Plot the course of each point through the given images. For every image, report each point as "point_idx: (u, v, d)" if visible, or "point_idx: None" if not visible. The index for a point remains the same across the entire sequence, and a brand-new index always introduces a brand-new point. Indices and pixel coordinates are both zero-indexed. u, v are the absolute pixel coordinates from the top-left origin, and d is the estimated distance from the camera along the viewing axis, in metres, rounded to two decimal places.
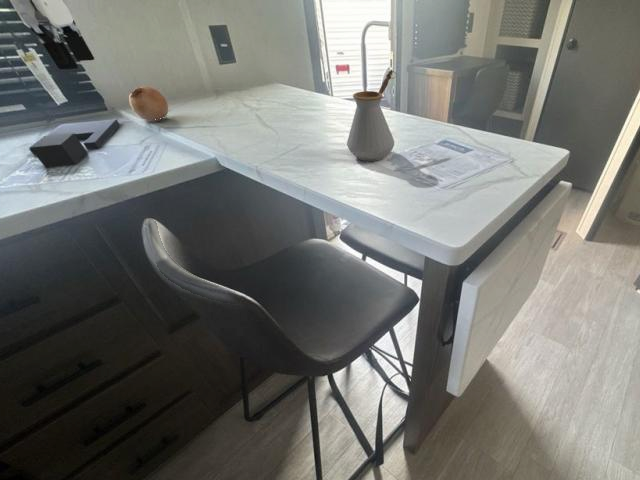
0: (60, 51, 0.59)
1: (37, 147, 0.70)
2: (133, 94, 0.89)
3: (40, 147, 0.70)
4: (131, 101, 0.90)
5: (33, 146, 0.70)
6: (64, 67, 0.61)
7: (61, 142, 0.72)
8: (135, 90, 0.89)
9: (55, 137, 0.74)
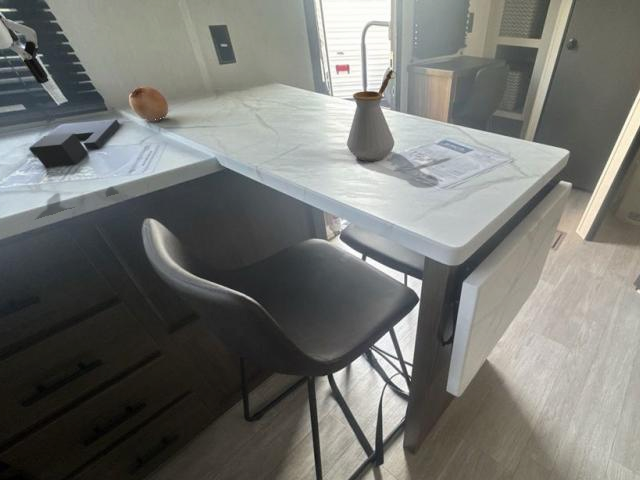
0: (40, 65, 0.65)
1: (37, 147, 0.70)
2: (133, 94, 0.89)
3: (40, 147, 0.70)
4: (131, 101, 0.90)
5: (33, 146, 0.70)
6: (44, 81, 0.66)
7: (61, 142, 0.72)
8: (135, 90, 0.89)
9: (55, 137, 0.74)
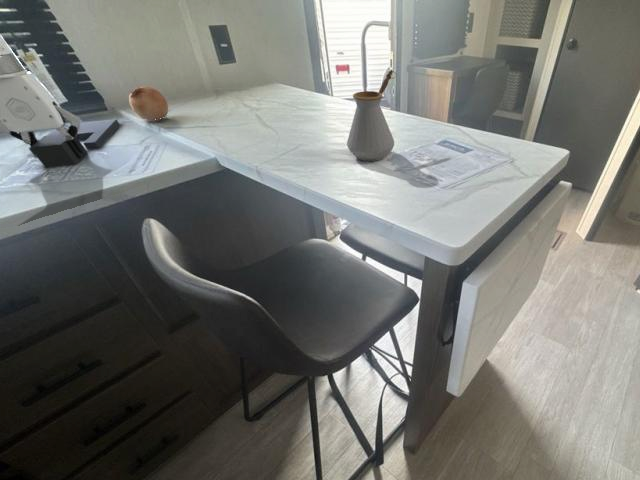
0: (79, 142, 0.75)
1: (37, 147, 0.70)
2: (133, 94, 0.89)
3: (40, 147, 0.70)
4: (131, 101, 0.90)
5: (33, 146, 0.70)
6: (82, 155, 0.76)
7: (61, 142, 0.72)
8: (135, 90, 0.89)
9: (55, 137, 0.74)
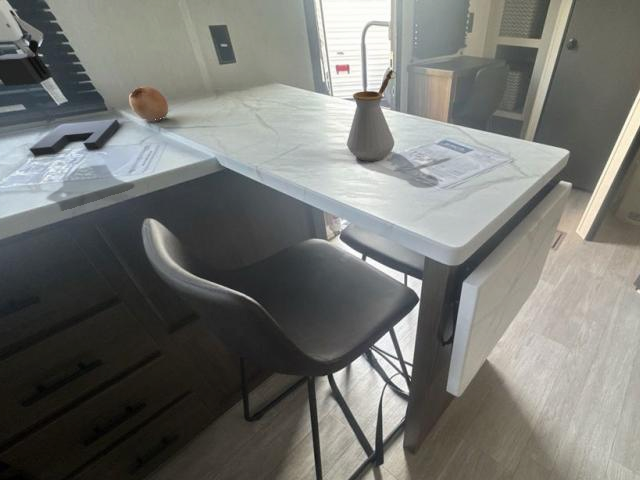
0: (42, 62, 0.71)
1: None
2: (133, 94, 0.89)
3: None
4: (131, 101, 0.90)
5: None
6: (45, 76, 0.72)
7: (21, 57, 0.67)
8: (135, 90, 0.89)
9: (16, 55, 0.70)
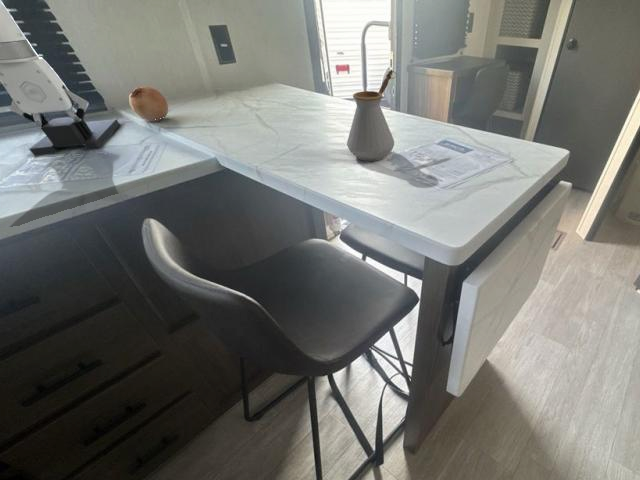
0: (86, 124, 0.81)
1: (48, 128, 0.76)
2: (133, 94, 0.89)
3: (50, 128, 0.76)
4: (131, 101, 0.90)
5: (44, 126, 0.76)
6: (88, 136, 0.82)
7: (70, 123, 0.78)
8: (135, 90, 0.89)
9: (64, 119, 0.80)
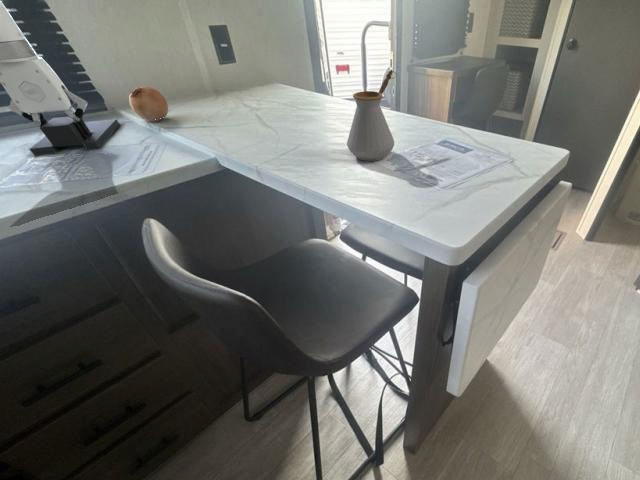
0: (85, 124, 0.81)
1: (46, 127, 0.76)
2: (133, 94, 0.89)
3: (49, 127, 0.76)
4: (131, 101, 0.90)
5: (43, 126, 0.76)
6: (87, 136, 0.82)
7: (69, 123, 0.78)
8: (135, 90, 0.89)
9: (63, 119, 0.80)
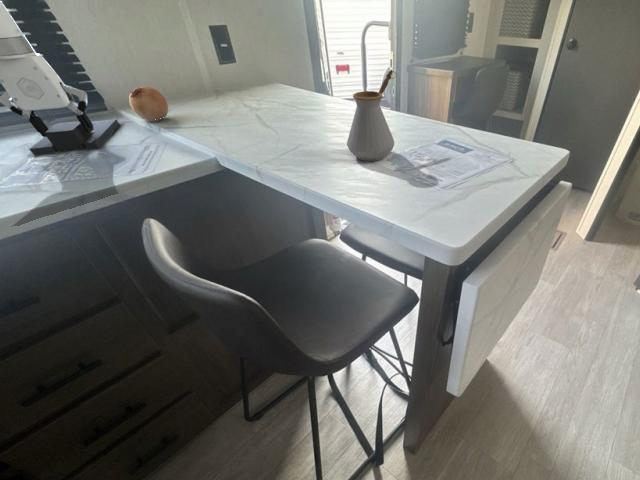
0: None
1: (51, 133, 0.77)
2: (133, 94, 0.89)
3: (53, 133, 0.77)
4: (131, 101, 0.90)
5: (47, 131, 0.77)
6: (90, 130, 0.81)
7: (72, 128, 0.78)
8: (135, 90, 0.89)
9: (66, 124, 0.81)
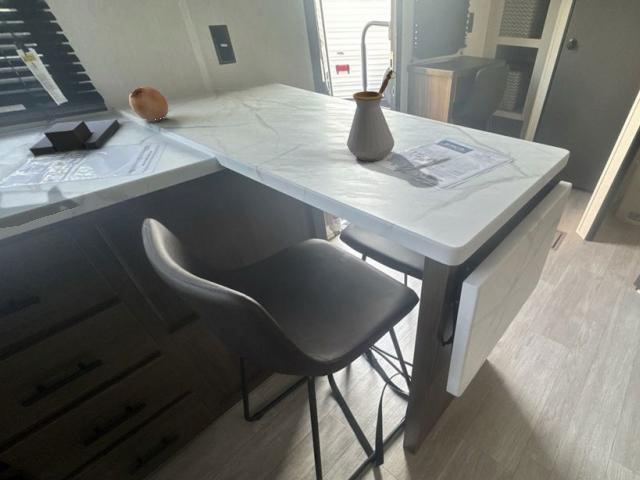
0: None
1: (51, 133, 0.77)
2: (133, 94, 0.89)
3: (53, 133, 0.77)
4: (131, 101, 0.90)
5: (47, 131, 0.77)
6: None
7: (72, 128, 0.78)
8: (135, 90, 0.89)
9: (66, 124, 0.81)
